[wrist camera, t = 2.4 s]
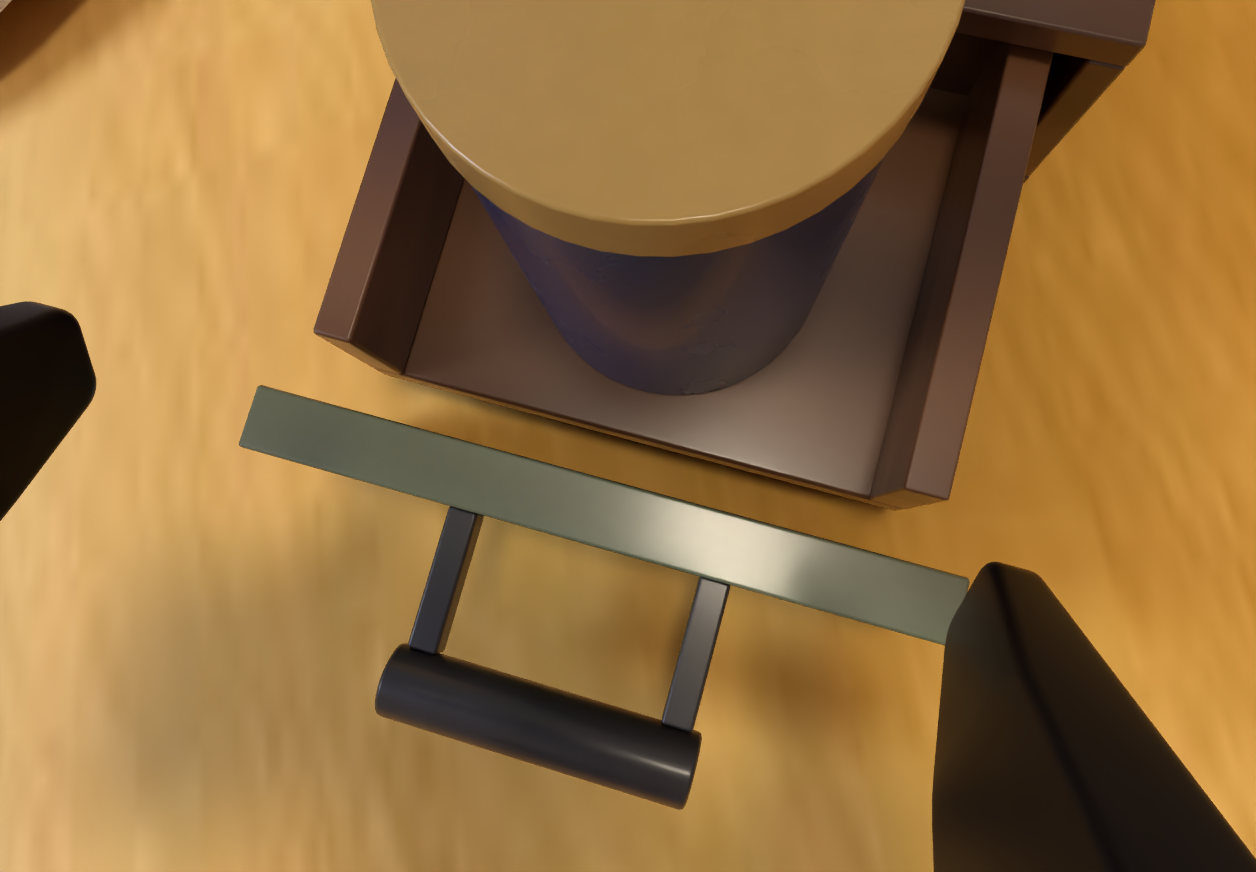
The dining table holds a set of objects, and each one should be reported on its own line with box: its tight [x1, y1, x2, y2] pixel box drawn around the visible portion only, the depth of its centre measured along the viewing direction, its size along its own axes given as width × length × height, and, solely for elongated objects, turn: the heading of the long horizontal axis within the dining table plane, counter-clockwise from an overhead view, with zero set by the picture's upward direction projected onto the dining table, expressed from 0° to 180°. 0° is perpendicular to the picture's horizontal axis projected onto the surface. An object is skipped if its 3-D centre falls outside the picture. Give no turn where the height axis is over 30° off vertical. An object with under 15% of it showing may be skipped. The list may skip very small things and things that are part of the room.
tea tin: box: [371, 0, 965, 395], centre depth 14 cm, size 6×6×10 cm
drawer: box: [239, 32, 1054, 810], centre depth 18 cm, size 17×13×4 cm
